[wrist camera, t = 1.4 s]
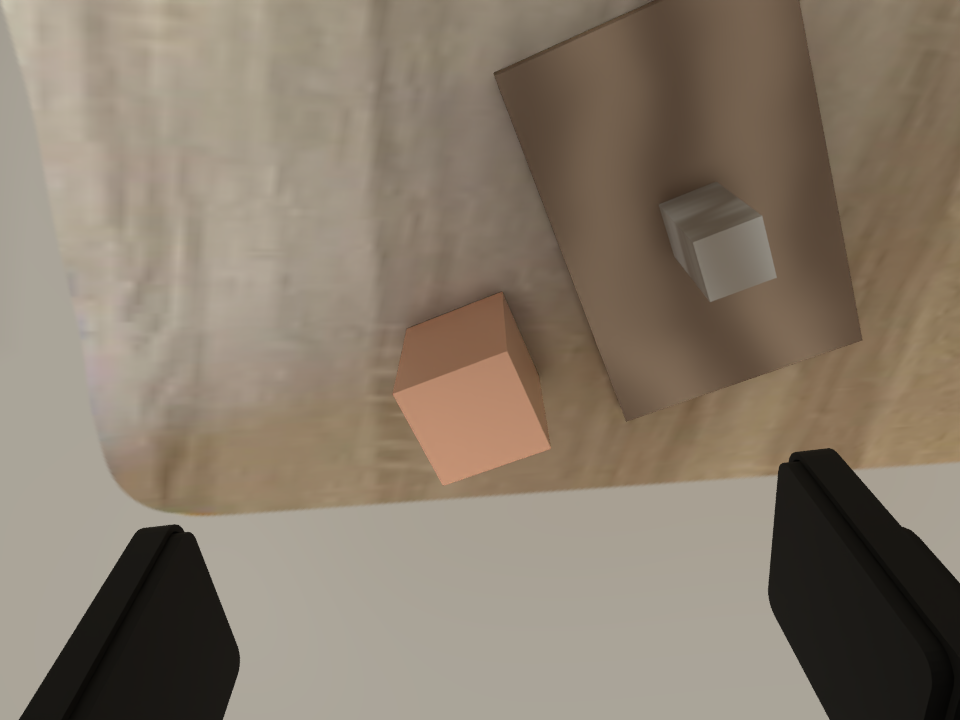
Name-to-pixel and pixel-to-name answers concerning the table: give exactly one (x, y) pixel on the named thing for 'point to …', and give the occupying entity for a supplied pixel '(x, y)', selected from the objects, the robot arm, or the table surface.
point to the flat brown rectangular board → (689, 193)
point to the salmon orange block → (471, 390)
